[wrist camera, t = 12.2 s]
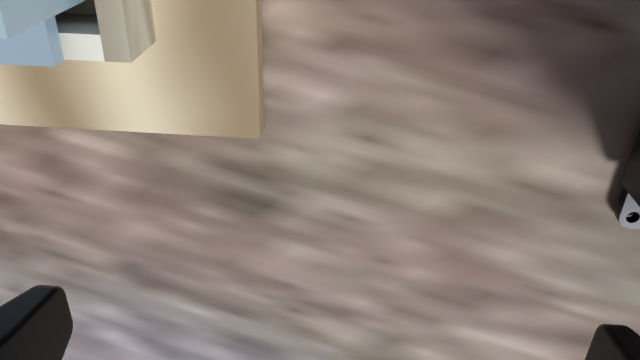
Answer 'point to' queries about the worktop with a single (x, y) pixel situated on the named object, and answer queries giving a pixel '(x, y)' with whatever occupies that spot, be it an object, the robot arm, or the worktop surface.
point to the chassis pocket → (147, 70)
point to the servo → (31, 32)
